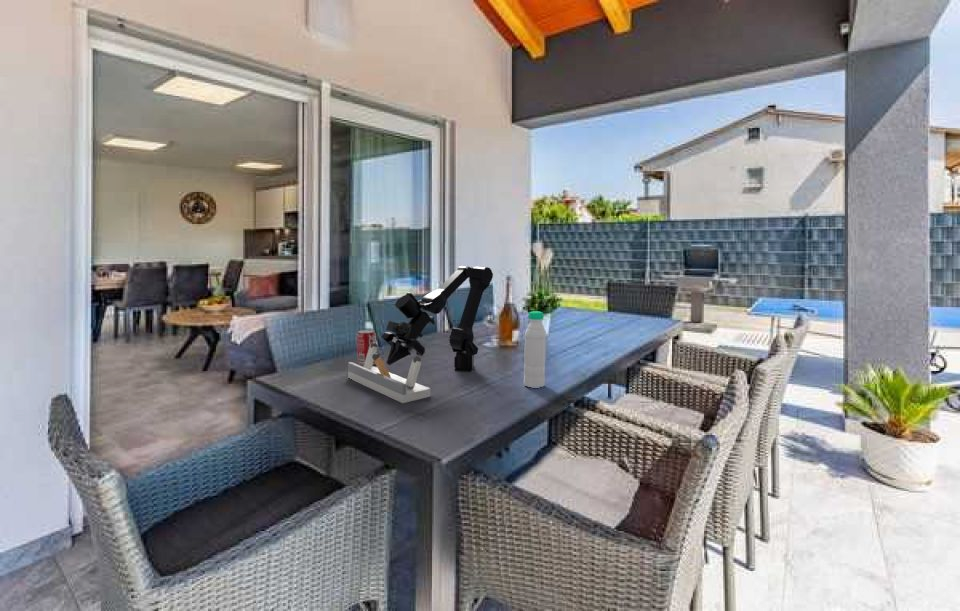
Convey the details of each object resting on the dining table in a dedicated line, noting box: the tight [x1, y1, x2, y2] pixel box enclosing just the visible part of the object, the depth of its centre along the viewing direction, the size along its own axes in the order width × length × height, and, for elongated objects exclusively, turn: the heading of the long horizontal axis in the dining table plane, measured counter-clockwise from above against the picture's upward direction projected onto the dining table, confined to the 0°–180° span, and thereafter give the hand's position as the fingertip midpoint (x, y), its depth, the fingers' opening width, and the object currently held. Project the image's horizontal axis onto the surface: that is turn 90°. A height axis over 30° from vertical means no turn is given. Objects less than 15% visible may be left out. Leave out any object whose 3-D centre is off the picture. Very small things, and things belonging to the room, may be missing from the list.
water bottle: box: [523, 310, 547, 387], centre depth 161 cm, size 7×7×25 cm
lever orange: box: [372, 352, 391, 378], centre depth 158 cm, size 2×3×10 cm
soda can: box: [356, 329, 377, 367], centre depth 187 cm, size 7×7×13 cm
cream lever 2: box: [405, 355, 422, 390], centre depth 151 cm, size 2×3×10 cm
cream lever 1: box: [362, 342, 378, 370], centre depth 170 cm, size 2×3×10 cm
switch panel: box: [347, 361, 431, 404], centre depth 160 cm, size 10×34×6 cm, turn 42°
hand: (387, 364), depth 159 cm, fingers closed
